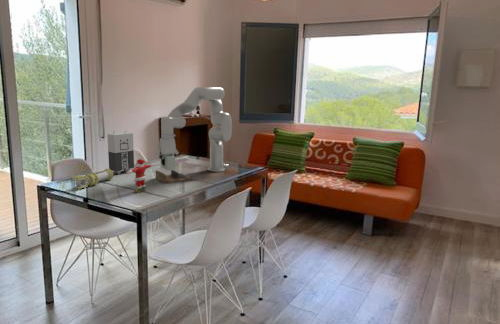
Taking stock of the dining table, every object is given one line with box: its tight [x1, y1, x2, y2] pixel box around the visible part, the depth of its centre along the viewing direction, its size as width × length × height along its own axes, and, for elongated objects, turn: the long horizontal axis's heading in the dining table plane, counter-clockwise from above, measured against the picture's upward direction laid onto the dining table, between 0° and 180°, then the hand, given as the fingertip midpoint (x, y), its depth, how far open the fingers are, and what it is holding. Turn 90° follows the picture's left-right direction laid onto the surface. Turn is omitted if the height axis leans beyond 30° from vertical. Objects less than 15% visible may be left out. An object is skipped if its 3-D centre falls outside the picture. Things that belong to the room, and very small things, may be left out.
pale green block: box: [160, 154, 176, 171], centre depth 239 cm, size 5×12×8 cm, turn 33°
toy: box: [107, 129, 135, 175], centre depth 255 cm, size 15×7×30 cm, turn 145°
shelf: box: [155, 169, 192, 185], centre depth 242 cm, size 18×16×5 cm
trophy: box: [71, 168, 114, 190], centre depth 224 cm, size 8×8×30 cm
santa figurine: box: [125, 158, 155, 194], centre depth 211 cm, size 25×6×19 cm, turn 159°
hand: (167, 164), depth 239 cm, fingers closed on pale green block, 5 cm apart
